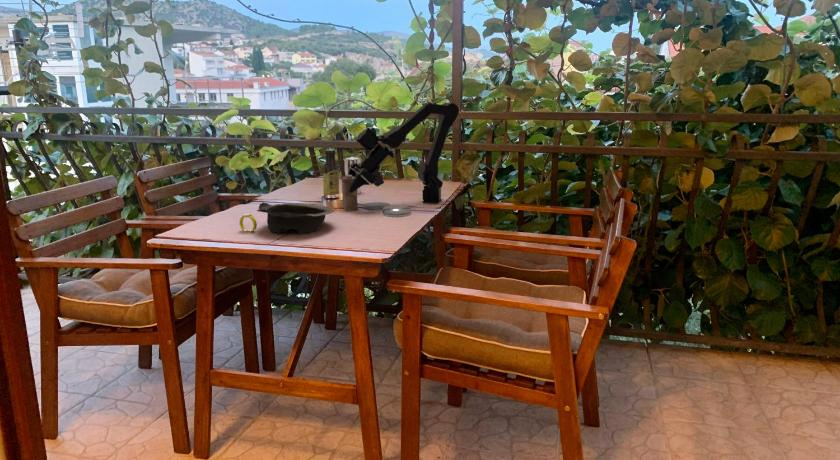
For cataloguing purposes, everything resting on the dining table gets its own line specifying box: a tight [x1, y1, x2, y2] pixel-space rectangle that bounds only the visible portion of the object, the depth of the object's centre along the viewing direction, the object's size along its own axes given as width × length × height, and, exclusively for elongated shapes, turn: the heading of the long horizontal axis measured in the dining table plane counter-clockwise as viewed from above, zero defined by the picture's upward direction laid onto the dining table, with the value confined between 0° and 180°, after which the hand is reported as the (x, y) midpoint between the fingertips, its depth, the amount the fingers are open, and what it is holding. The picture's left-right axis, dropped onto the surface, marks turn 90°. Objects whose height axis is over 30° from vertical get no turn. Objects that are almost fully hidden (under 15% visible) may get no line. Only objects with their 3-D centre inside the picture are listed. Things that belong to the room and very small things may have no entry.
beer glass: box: [344, 156, 362, 195], centre depth 253 cm, size 7×7×15 cm
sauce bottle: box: [322, 149, 340, 197], centre depth 244 cm, size 7×6×20 cm
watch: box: [239, 213, 258, 232], centre depth 198 cm, size 6×3×6 cm, turn 67°
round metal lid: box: [382, 204, 411, 218], centre depth 219 cm, size 10×10×2 cm
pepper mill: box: [341, 175, 359, 212], centre depth 226 cm, size 5×5×13 cm
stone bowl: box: [256, 201, 335, 234], centre depth 200 cm, size 25×25×9 cm
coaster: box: [361, 201, 391, 211], centre depth 231 cm, size 11×11×1 cm
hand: (347, 189), depth 225 cm, fingers open, 9 cm apart
